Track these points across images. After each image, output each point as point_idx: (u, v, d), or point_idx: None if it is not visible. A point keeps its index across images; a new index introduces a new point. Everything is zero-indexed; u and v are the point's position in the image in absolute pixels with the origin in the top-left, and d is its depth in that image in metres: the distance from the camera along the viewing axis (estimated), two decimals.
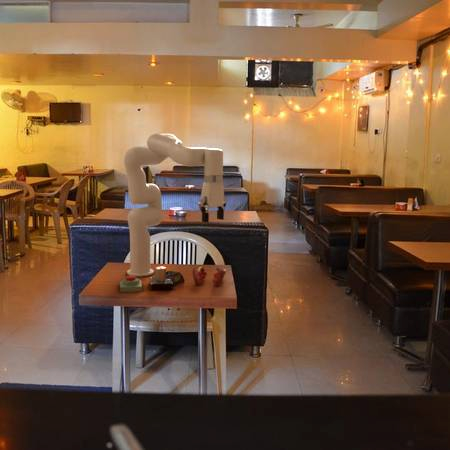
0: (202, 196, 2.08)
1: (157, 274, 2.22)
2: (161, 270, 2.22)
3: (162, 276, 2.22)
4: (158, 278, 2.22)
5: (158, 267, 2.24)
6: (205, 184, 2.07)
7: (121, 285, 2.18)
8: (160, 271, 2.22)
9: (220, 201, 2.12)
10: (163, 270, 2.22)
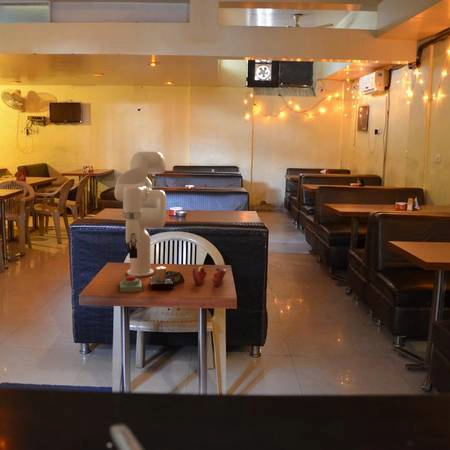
0: (129, 233, 2.12)
1: (157, 274, 2.22)
2: (161, 270, 2.22)
3: (162, 276, 2.22)
4: (158, 278, 2.22)
5: (158, 267, 2.24)
6: (131, 221, 2.12)
7: (121, 285, 2.18)
8: (160, 271, 2.22)
9: None
10: (163, 270, 2.22)
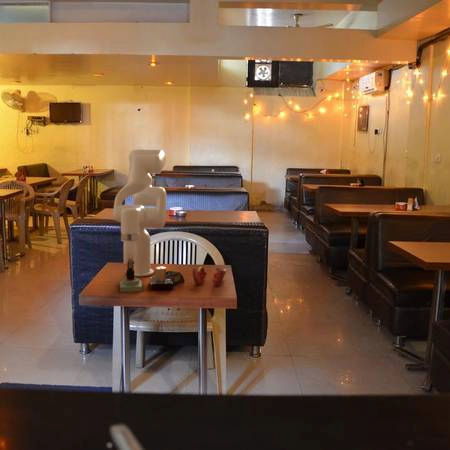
0: (126, 255, 2.14)
1: (157, 274, 2.22)
2: (161, 270, 2.22)
3: (162, 276, 2.22)
4: (158, 278, 2.22)
5: (158, 267, 2.24)
6: (128, 243, 2.13)
7: (121, 285, 2.18)
8: (160, 271, 2.22)
9: None
10: (163, 270, 2.22)
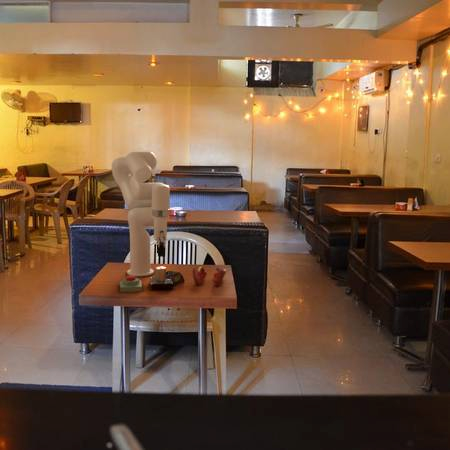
0: (158, 231, 2.16)
1: (157, 274, 2.22)
2: (161, 270, 2.22)
3: (162, 276, 2.22)
4: (158, 278, 2.22)
5: (158, 267, 2.24)
6: (160, 219, 2.15)
7: (121, 285, 2.18)
8: (160, 271, 2.22)
9: None
10: (163, 270, 2.22)
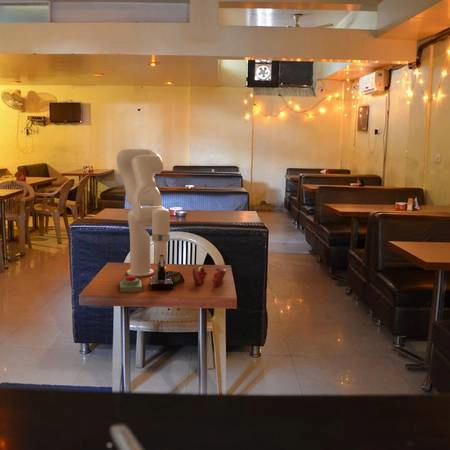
0: (158, 255, 2.17)
1: (157, 274, 2.22)
2: None
3: None
4: None
5: None
6: (160, 243, 2.17)
7: (121, 285, 2.18)
8: None
9: None
10: None
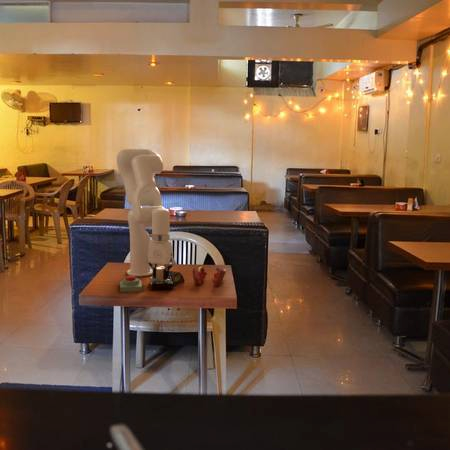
0: (169, 254, 2.19)
1: (162, 275, 2.22)
2: None
3: None
4: (163, 278, 2.23)
5: (158, 268, 2.23)
6: (169, 242, 2.20)
7: (121, 285, 2.18)
8: None
9: None
10: None
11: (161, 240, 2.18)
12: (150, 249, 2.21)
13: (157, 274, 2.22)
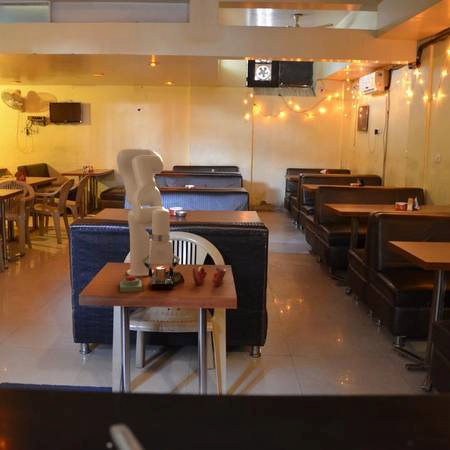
0: (172, 253, 2.22)
1: (164, 274, 2.23)
2: (165, 268, 2.24)
3: None
4: (165, 277, 2.24)
5: (159, 268, 2.23)
6: None
7: (121, 285, 2.18)
8: (165, 270, 2.24)
9: None
10: None
11: (165, 240, 2.19)
12: (152, 251, 2.19)
13: (159, 274, 2.22)
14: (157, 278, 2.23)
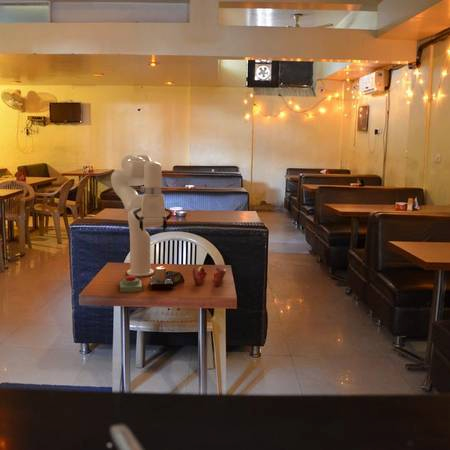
0: (164, 207, 2.23)
1: (164, 274, 2.23)
2: (165, 268, 2.24)
3: None
4: (165, 277, 2.24)
5: (159, 268, 2.23)
6: (163, 195, 2.23)
7: (121, 285, 2.18)
8: (165, 270, 2.24)
9: None
10: None
11: (157, 193, 2.20)
12: (144, 204, 2.20)
13: (159, 274, 2.22)
14: (157, 278, 2.23)
